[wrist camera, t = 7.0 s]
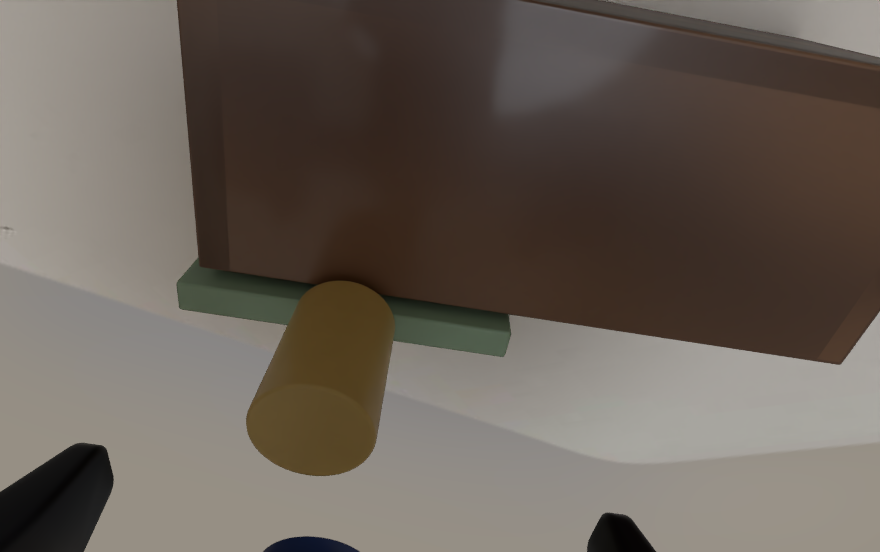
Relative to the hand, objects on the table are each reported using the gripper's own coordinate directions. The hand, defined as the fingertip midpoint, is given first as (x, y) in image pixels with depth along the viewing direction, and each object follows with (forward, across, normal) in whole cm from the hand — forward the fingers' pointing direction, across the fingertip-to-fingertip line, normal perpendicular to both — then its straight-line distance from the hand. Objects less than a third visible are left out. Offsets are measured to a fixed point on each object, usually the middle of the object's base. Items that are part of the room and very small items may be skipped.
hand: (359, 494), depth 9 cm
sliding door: (+12, +1, 0) cm, 12 cm away
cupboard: (+13, -3, -3) cm, 14 cm away
